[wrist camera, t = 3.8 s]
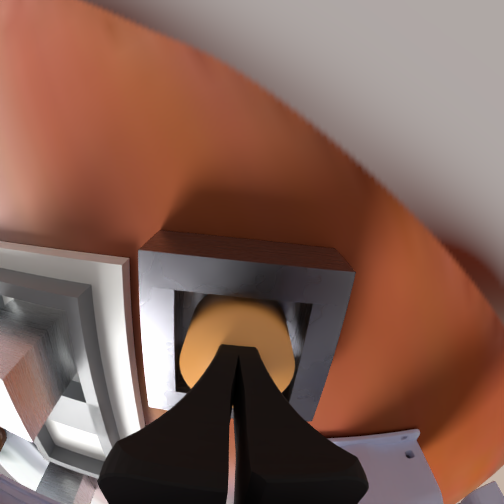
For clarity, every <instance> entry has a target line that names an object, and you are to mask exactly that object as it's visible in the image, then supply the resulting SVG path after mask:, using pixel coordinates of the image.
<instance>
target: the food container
mask: <svg viewBox="0 0 504 504" xmlns="http://www.w3.org/2000/svg"><path fill="white" fill-rule="evenodd" d="M6 438H7V437H6V433H5V430H4V428H2V427H0V451H1V449H2V447H3V445H4V443H5V441H6Z"/></svg>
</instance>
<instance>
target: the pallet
mask: <svg viewBox="0 0 504 504" xmlns="http://www.w3.org/2000/svg"><path fill="white" fill-rule="evenodd" d="M12 299H17V300H20V301H24V302H28V303H32V304H36V305H40V306H45V307H49V308H53V309H58V310H62V311H65V312H66V318H67V324H68V329H69V334H70V339H71V344H72V349H73V353H74V358H75V362H76V366H77V370H78V372H77V373H76V375H75V376H74V378H73V379H72V381H71V382H70V384H69V385H68V387H67V388H66V390H65V391H64V393H63V394H62V396H61V397H60V399H59V401H58V402H57V404H56V405H55V407H54V408H53V410H52V412H51V413H50V415H49V416H48V418H47V420H46V421H45V423H44V425H43V426H42V428H41V429H40V431H39V433H38V434H37V436H36V438H35V440H34V442H35V444H36V446H37V448H38V449H39V451H40V453H41V454H42V456H43V458H44V459H45V460H48V461H50V462H53V463H55V464H58V465H60V466H63V467H65V468H68V469H71V470H73V471H76V472H79V473H82V474H85V475H88V476H91V477H94V478H97V479H98V477H99V474H100V472H101V469H102V466H103V463H104V461H105V459H106V457H107V456H108V454H109V452H110V450H111V449H112V447H113V446H114V444H115V443H116V442H117V441H119V440H121V439H123V438H125V437H127V436H129V435H131V434H133V433H135V432H137V431H139V430H141V429H142V428H144V427H145V422H144V416H143V410H142V403H141V397H140V390H139V382H138V374H137V366H136V357H135V347H134V337H133V325H132V310H131V292H130V262H129V258H125V257H117V256H109V255H101V254H93V253H85V252H77V251H69V250H62V249H54V248H47V247H39V246H32V245H25V244H18V243H11V242H4V241H0V309H1V308H2V307H3V306H4V305H6V304H7V303H8V302H10V301H11V300H12Z"/></svg>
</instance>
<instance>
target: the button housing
mask: <svg viewBox="0 0 504 504" xmlns="http://www.w3.org/2000/svg"><path fill="white" fill-rule="evenodd" d="M138 273H139V304H140V323H141V338H142V350H143V361H144V372H145V381H146V389H147V397H148V405H149V407H152V408H158V409H164V410H169V409H171V408H172V407H173V406H174V405H175V404H176V403H178V402H179V401H180V400H181V399H182V398H183V397H184V396H185V395H186V394H187V393H188V392H189V391H190V389H191V388H190V387H189V386H188V385H187V383H186V382H185V380H184V378H183V376H182V374H181V370H180V363H179V362H180V354H181V350H182V347H183V344H184V341H185V337H186V334H187V331H188V328H189V325H190V322H191V319H192V316H193V313H194V310H195V308H196V307H197V305H198V303H199V302H200V301H201V300H202V299H203V298H204V297H205V296H206V295H208V294H215V295H224V296H233V297H243V298H254V299H264V300H276V301H277V302H278V304H279V305H280V306H281V308H282V310H283V312H284V314H285V317H286V322H287V326H288V331H289V336H290V340H291V345H292V350H293V355H294V360H295V370H294V374H293V377H292V380H291V382H290V383H289V385H288V386H287V388H286V389H285V390H284V391H283V392H282V394H283V396H284V397H285V398H286V400H287V401H288V402H289V403H290V405H291V406H292V407H293V408H294V409H295V410H296V411H297V413H298V414H299V415H300V416H301V417H302V418H303V419H304V420H305V421H312V419H313V417H314V414H315V411H316V408H317V405H318V403H319V400H320V397H321V394H322V391H323V388H324V385H325V382H326V379H327V376H328V372H329V369H330V366H331V363H332V360H333V356H334V353H335V350H336V346H337V343H338V339H339V336H340V332H341V329H342V325H343V321H344V318H345V314H346V310H347V306H348V302H349V298H350V294H351V290H352V286H353V282H354V278H355V273H356V272H355V271H354V270H353V268H352V267H351V266H350V265H349V264H348V263H347V261H346V260H345V259H344V258H343V257H342V256H341V255H340V253H339V252H338V251H337V250H336V249H335V248H326V247H317V246H308V245H299V244H290V243H281V242H271V241H262V240H253V239H243V238H233V237H224V236H214V235H204V234H194V233H184V232H174V231H164V230H159V231H158V232H157V233H156V234H155V235H154V236H153V237H152V238H151V239H150V240H148V241H147V242H146V243H145V244H144V245H143V246H142V247H141V248H140V249H139V250H138ZM231 418H234V417H233V408H232V413H231Z"/></svg>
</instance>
